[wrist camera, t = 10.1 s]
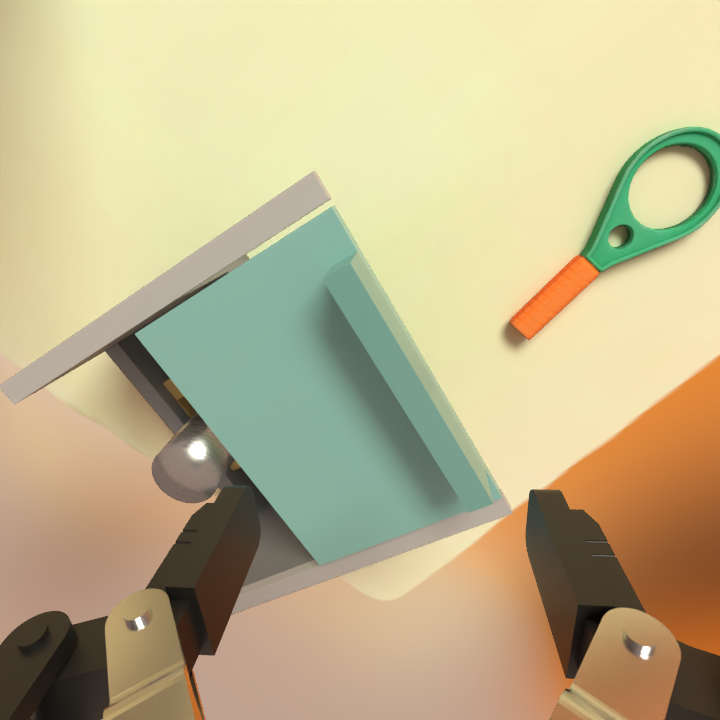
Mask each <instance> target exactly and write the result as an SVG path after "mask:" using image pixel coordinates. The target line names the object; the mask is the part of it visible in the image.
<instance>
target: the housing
mask: <svg viewBox="0 0 720 720" xmlns="http://www.w3.org/2000/svg"><path fill="white" fill-rule="evenodd" d="M330 199H331V197H330V195H329V193H328V192H327V190H326V188H325V186H324V185H323V183H322V181H321V180H320V178H319V176H318V174H317V173H316V171H313V172H311V173H310V174H308V175H307V176H305V177H304V178H303V179H301V180H300V181H298V182H297V183H295V184H294V185H292V186H291V187H289V188H288V189H286V190H285V191H284V192H282V193H281V194H279V195H278V196H276V197H275V198H273V199H272V200H270V201H269V202H267V203H266V204H264V205H263V206H262V207H260V208H259V209H257V210H256V211H254V212H253V213H251V214H250V215H248V216H247V217H245V218H244V219H242V220H241V221H240V222H238V223H237V224H235V225H234V226H232V227H231V228H229V229H228V230H226V231H225V232H223V233H222V234H220V235H219V236H218V237H216V238H215V239H213V240H212V241H210V242H209V243H207V244H206V245H204V246H203V247H201V248H200V249H199V250H197V251H196V252H194V253H193V254H191V255H190V256H188V257H187V258H185V259H184V260H182V261H181V262H179V263H178V264H177V265H175V266H174V267H172V268H171V269H169V270H168V271H166V272H165V273H163V274H162V275H160V276H159V277H157V278H156V279H155V280H153V281H152V282H150V283H149V284H147V285H146V286H144V287H143V288H141V289H140V290H138V291H137V292H135V293H134V294H133V295H131V296H130V297H128V298H127V299H125V300H124V301H122V302H121V303H119V304H118V305H116V306H115V307H114V308H112V309H111V310H109V311H108V312H106V313H105V314H103V315H102V316H100V317H99V318H97V319H96V320H94V321H93V322H92V323H90V324H89V325H87V326H86V327H84V328H83V329H81V330H80V331H78V332H77V333H75V334H74V335H72V336H71V337H70V338H68V339H67V340H65V341H64V342H62V343H61V344H59V345H58V346H56V347H55V348H53V349H52V350H51V351H49V352H48V353H46V354H45V355H43V356H42V357H40V358H39V359H37V360H36V361H34V362H33V363H31V364H30V365H29V366H27V367H26V368H24V369H23V370H21V371H20V372H18V373H17V374H15V375H14V376H12V377H11V378H9V379H8V380H7V381H5V382H4V383H2V384H1V385H0V389H1V390H2V392H3V393H4V394H5V395H6V396H7V397H8V398H9V399H10V400H11V401H12V402H13V403H14V404H16V403H18V402H19V401H21V400H23V399H25V398H26V397H28V396H30V395H31V394H33V393H35V392H37V391H38V390H40V389H42V388H43V387H45V386H47V385H48V384H50V383H52V382H54V381H55V380H57V379H59V378H60V377H62V376H64V375H65V374H67V373H69V372H70V371H72V370H74V369H76V368H77V367H79V366H81V365H82V364H84V363H86V362H87V361H89V360H91V359H92V358H94V357H96V356H98V355H99V354H101V353H103V352H104V351H105V352H106V353H107V354H108V355H109V356H110V358H111V359H112V360H113V361H114V362H115V364H116V365H117V366H118V367H119V368H120V370H121V371H122V372H123V373H124V374H125V376H126V377H127V378H128V379H129V380H130V382H131V383H132V384H133V385H134V386H135V388H136V389H137V390H138V391H139V392H140V394H141V395H142V396H143V397H144V398H145V400H146V401H147V402H148V403H149V404H150V406H151V407H152V408H153V409H154V410H155V412H156V413H157V414H158V415H159V416H160V418H161V419H162V420H163V421H164V422H165V424H166V425H167V426H168V427H169V428H170V430H171V431H172V432H173V433H174V434H175V435H176V434H177V432H178V431H179V430H180V429H181V428H182V427H183V426H184V425H185V423H186V422H187V421H188V420H189V419H190V418H191V417H192V416H193V415H194V413H195V412H196V410H195V409H194V408H193V407H192V405H191V404H190V403H189V402H188V400H187V399H186V398H185V397H184V395H183V394H182V393H181V392H180V390H179V389H178V388H177V387H176V385H175V384H174V383H173V382H172V380H171V379H170V378H169V377H168V375H167V374H166V373H165V372H164V370H163V369H162V368H161V367H160V365H159V364H158V363H157V362H156V360H155V359H154V358H153V357H152V355H151V354H150V353H149V352H148V350H147V349H146V348H145V347H144V345H143V344H142V343H141V342H140V340H139V339H138V338H137V337H136V335H135V333H137V332H138V331H140V330H141V329H143V328H145V327H146V326H148V325H149V324H151V323H152V322H154V321H155V320H157V319H158V318H160V317H162V316H163V315H165V314H166V313H168V312H169V311H171V310H172V309H174V308H176V307H177V306H179V305H180V304H182V303H183V302H185V301H186V300H188V299H189V298H191V297H193V296H194V295H196V294H197V293H199V292H200V291H202V290H203V289H205V288H206V287H208V286H210V285H211V284H213V283H214V282H216V281H217V280H219V279H220V278H222V277H224V276H225V275H227V274H228V273H230V272H231V271H233V270H234V269H236V268H237V267H239V266H241V265H242V264H244V263H245V262H247V261H248V260H249V258H248V257H247V255H246V254H247V253H249V252H250V251H252V250H253V249H255V248H256V247H258V246H259V245H261V244H262V243H264V242H265V241H267V240H269V239H270V238H272V237H273V236H275V235H276V234H278V233H279V232H281V231H282V230H284V229H285V228H287V227H289V226H290V225H292V224H293V223H295V222H296V221H298V220H299V219H301V218H302V217H304V216H305V215H307V214H308V213H310V212H312V211H313V210H315V209H316V208H318V207H319V206H321V205H322V204H324V203H325V202H327V201H328V200H330ZM225 486H251V487H252V489H253V492H254V497H255V502H256V507H257V512H258V517H259V522H260V528H261V534H260V542H259V546H258V549H257V551H256V554H255V556H254V559H253V561H252V564H251V566H250V569H249V571H248V574H247V576H246V579H245V581H244V584H243V586H242V588H241V591H240V593H239V596H238V598H237V601H236V603H235V606H234V608H233V611H232V613H231V615H232V614H235V613H238V612H241V611H243V610H246V609H249V608H251V607H255V606H257V605H260V604H263V603H265V602H268V601H271V600H274V599H277V598H279V597H282V596H285V595H288V594H291V593H293V592H296V591H299V590H302V589H304V588H307V587H310V586H313V585H316V584H318V583H321V582H324V581H327V580H329V579H332V578H335V577H338V576H341V575H343V574H346V573H349V572H352V571H354V570H357V569H360V568H363V567H366V566H368V565H371V564H374V563H377V562H379V561H382V560H385V559H388V558H391V557H393V556H396V555H399V554H402V553H404V552H407V551H410V550H413V549H416V548H418V547H421V546H424V545H427V544H429V543H432V542H435V541H438V540H441V539H443V538H446V537H449V536H452V535H454V534H457V533H460V532H463V531H466V530H468V529H471V528H474V527H477V526H479V525H482V524H485V523H488V522H491V521H493V520H496V519H499V518H502V517H504V516H507V515H510V514H513V513H512V510H511V506H510V504H509V502H508V501H507V499H506V497H505V496H504V494H503V492H502V490H501V489H500V493H501V496H502V498H500V499H498V500H495V501H493V503H494V504H491V505H489V506H486V507H483V508H481V509H478V510H475V511H472V512H470V513H468V512H467V511H465V512H463V513H460V514H457V515H455V516H452V517H449V518H447V519H444V520H441V521H439V522H436V523H433V524H431V525H428V526H425V527H423V528H420V529H417V530H415V531H412V532H409V533H407V534H404V535H401V536H399V537H396V538H393V539H391V540H388V541H385V542H382V543H380V544H377V545H374V546H372V547H369V548H366V549H364V550H361V551H358V552H356V553H353V554H350V555H348V556H345V557H342V558H340V559H337V560H334V561H332V562H329V563H326V564H324V565H321V566H320V565H319V564H318V563H317V562H316V560H315V559H314V558H313V557H312V555H311V554H310V553H309V552H308V550H307V549H306V548H305V547H304V545H303V544H302V543H301V542H300V540H299V539H298V538H297V537H296V535H295V534H294V533H293V532H292V530H291V529H290V528H289V527H288V525H287V524H286V523H285V522H284V520H283V519H282V518H281V517H280V515H279V514H278V513H277V512H276V510H275V509H274V508H273V507H272V505H271V504H270V503H269V502H268V500H267V499H266V498H265V497H264V495H263V494H262V493H261V492H260V490H259V489H258V488H257V487H256V485H255V484H254V483H253V482H252V480H251V479H250V478H249V477H248V475H247V474H246V473H245V472H244V470H243V469H242V468H241V467H240V465H239V464H238V463H237V462H236V460H234V461H233V463H232V464H231V466H230V468H229V469H228V471H227V473H226V474H225V476H224V477H223V479H222V481H221V482H220V484H219V486H218V487H219V488H220V490H222V489H223V488H224V487H225Z"/></svg>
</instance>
